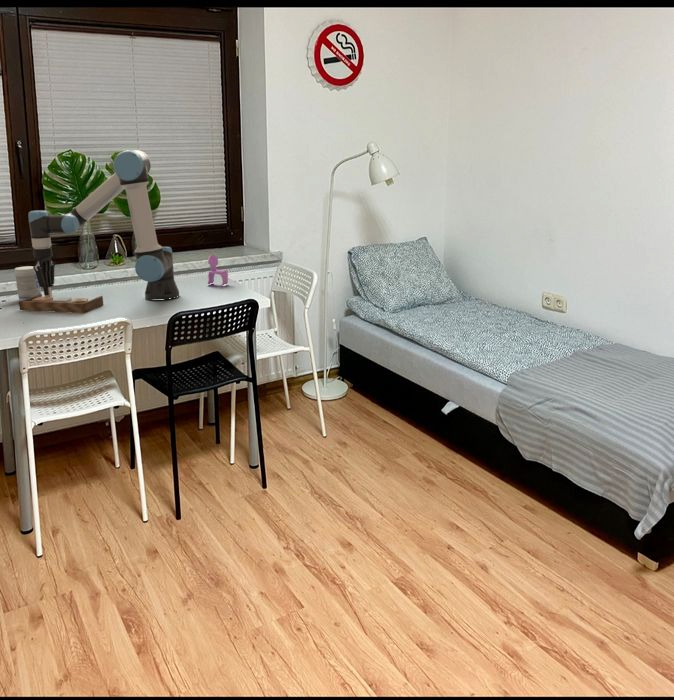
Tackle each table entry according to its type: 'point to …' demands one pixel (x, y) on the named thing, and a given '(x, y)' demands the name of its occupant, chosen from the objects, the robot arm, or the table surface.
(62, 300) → the grey tile
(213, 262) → the toy chair
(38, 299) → the terracotta tile
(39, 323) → the table surface
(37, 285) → the supplement tub
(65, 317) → the table surface
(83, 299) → the oak tile
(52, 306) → the frame
